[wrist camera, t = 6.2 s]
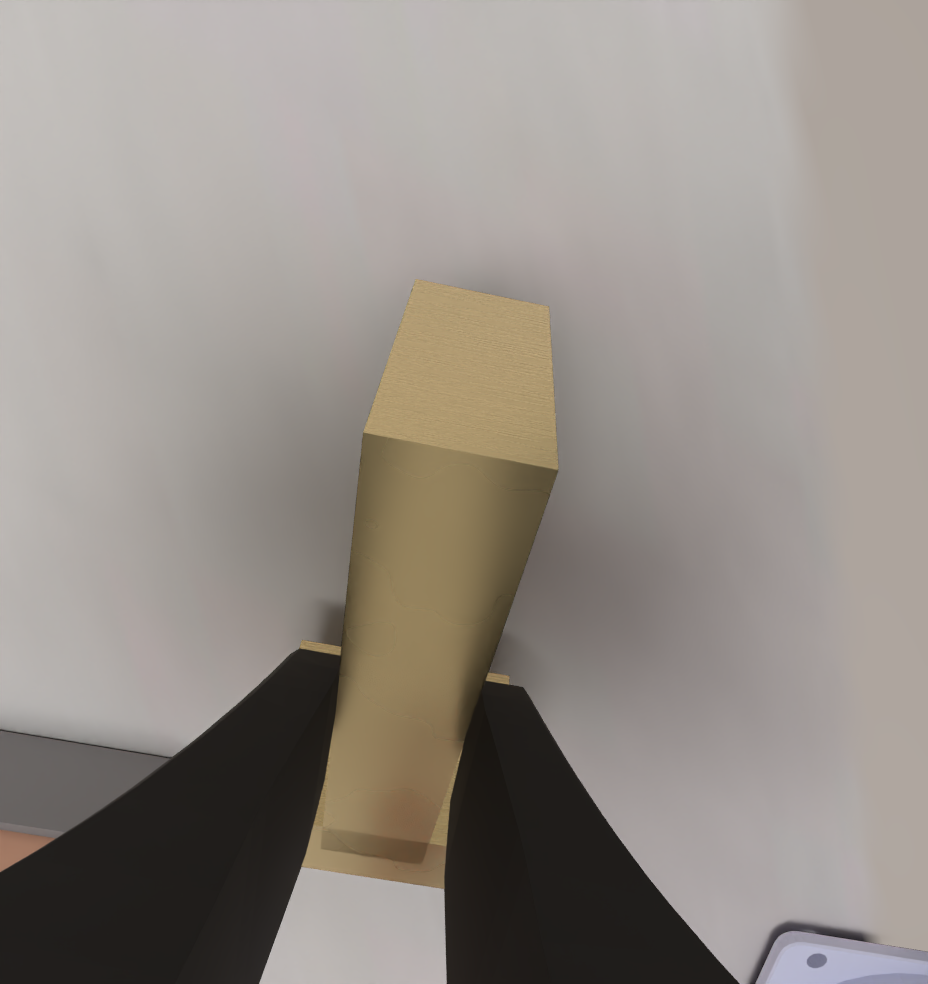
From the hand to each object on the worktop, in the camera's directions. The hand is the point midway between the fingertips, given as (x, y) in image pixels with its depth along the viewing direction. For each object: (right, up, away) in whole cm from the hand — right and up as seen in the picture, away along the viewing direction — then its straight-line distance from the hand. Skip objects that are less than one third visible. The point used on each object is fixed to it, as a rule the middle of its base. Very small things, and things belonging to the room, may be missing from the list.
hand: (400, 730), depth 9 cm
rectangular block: (0, +3, +3) cm, 4 cm away
